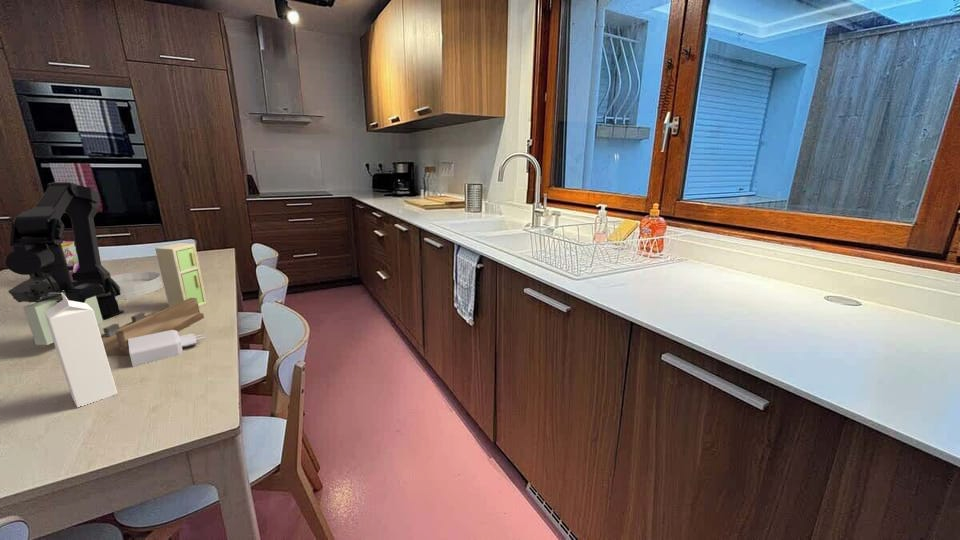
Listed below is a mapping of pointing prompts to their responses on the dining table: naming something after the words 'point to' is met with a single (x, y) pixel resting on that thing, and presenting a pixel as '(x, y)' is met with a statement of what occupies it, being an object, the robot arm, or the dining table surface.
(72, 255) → the candy bar box
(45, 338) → the door panel
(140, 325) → the cabinet base
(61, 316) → the milk
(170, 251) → the toy refrigerator
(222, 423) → the dining table surface
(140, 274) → the dish
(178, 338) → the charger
